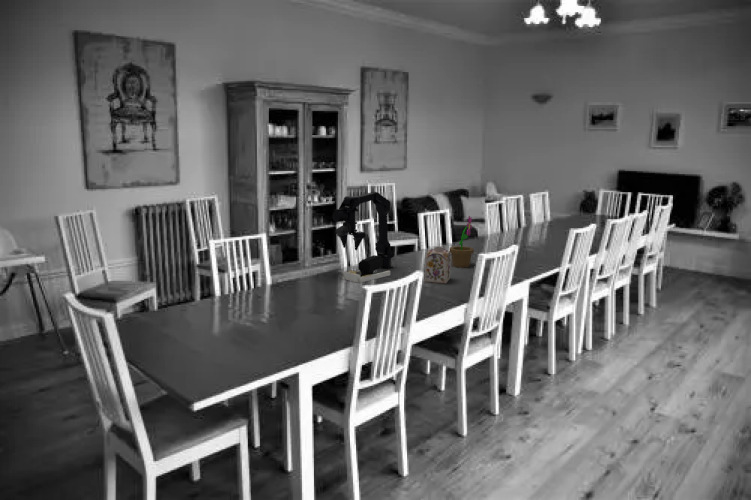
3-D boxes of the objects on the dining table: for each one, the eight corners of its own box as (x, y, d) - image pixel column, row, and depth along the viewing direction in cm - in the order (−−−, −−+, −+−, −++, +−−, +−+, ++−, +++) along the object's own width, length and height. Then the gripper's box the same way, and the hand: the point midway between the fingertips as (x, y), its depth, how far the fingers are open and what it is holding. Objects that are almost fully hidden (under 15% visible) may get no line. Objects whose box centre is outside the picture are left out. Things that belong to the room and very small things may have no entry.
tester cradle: (374, 271, 325) (374, 262, 324) (390, 275, 317) (390, 266, 316) (342, 278, 309) (342, 269, 308) (358, 283, 300) (358, 273, 299)
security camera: (355, 279, 308) (355, 260, 306) (371, 272, 324) (372, 254, 322) (366, 281, 305) (367, 262, 303) (383, 273, 321) (383, 256, 319)
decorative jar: (446, 284, 301) (447, 250, 298) (424, 282, 305) (425, 248, 301) (450, 278, 313) (451, 245, 309) (429, 276, 316) (430, 244, 312)
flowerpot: (470, 269, 334) (472, 217, 328) (445, 266, 339) (447, 215, 333) (475, 264, 347) (478, 214, 341) (452, 261, 352) (454, 212, 346)
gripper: (327, 219, 311) (327, 248, 314) (351, 224, 298) (350, 253, 301) (342, 217, 318) (342, 245, 322) (366, 221, 306) (366, 250, 309)
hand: (350, 248), depth 313 cm, fingers open, 9 cm apart
